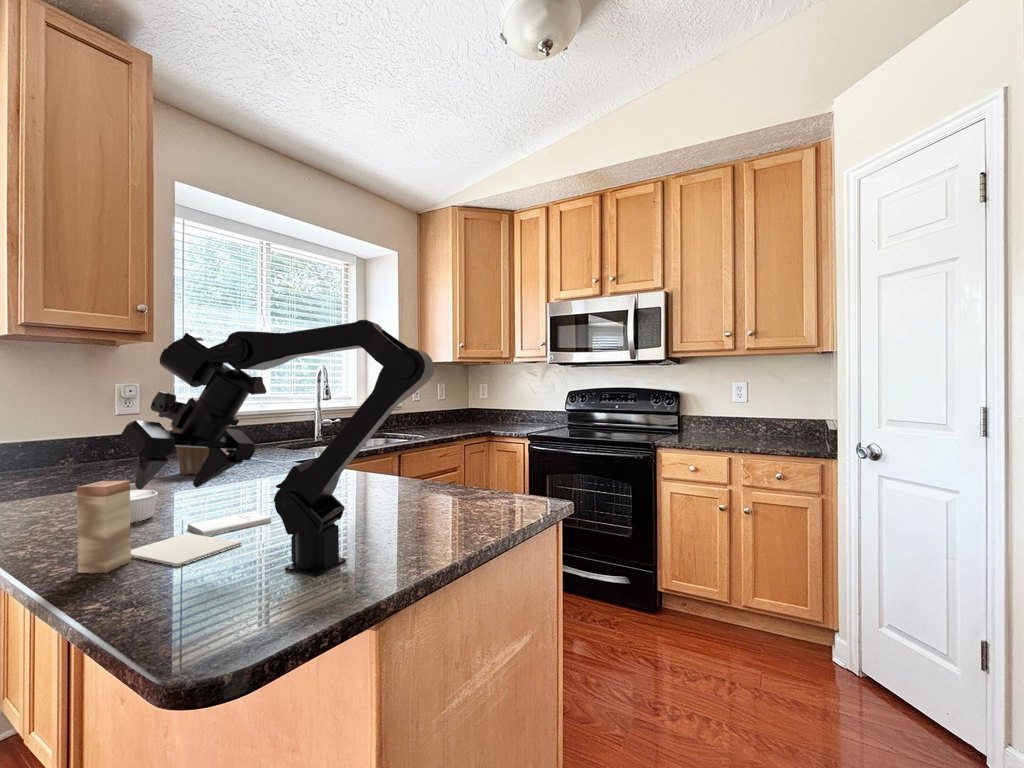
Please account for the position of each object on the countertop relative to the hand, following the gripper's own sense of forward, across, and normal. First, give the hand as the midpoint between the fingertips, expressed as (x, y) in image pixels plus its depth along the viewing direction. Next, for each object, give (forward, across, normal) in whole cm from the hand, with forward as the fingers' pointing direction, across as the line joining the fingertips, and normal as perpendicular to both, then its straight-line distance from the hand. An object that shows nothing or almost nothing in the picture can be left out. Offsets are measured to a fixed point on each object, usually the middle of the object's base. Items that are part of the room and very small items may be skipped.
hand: (168, 486), depth 78 cm
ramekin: (+27, -18, -24) cm, 40 cm away
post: (+16, +2, -1) cm, 16 cm away
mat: (+12, -8, +2) cm, 14 cm away
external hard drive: (+13, -21, -3) cm, 25 cm away
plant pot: (+39, -63, -59) cm, 95 cm away
